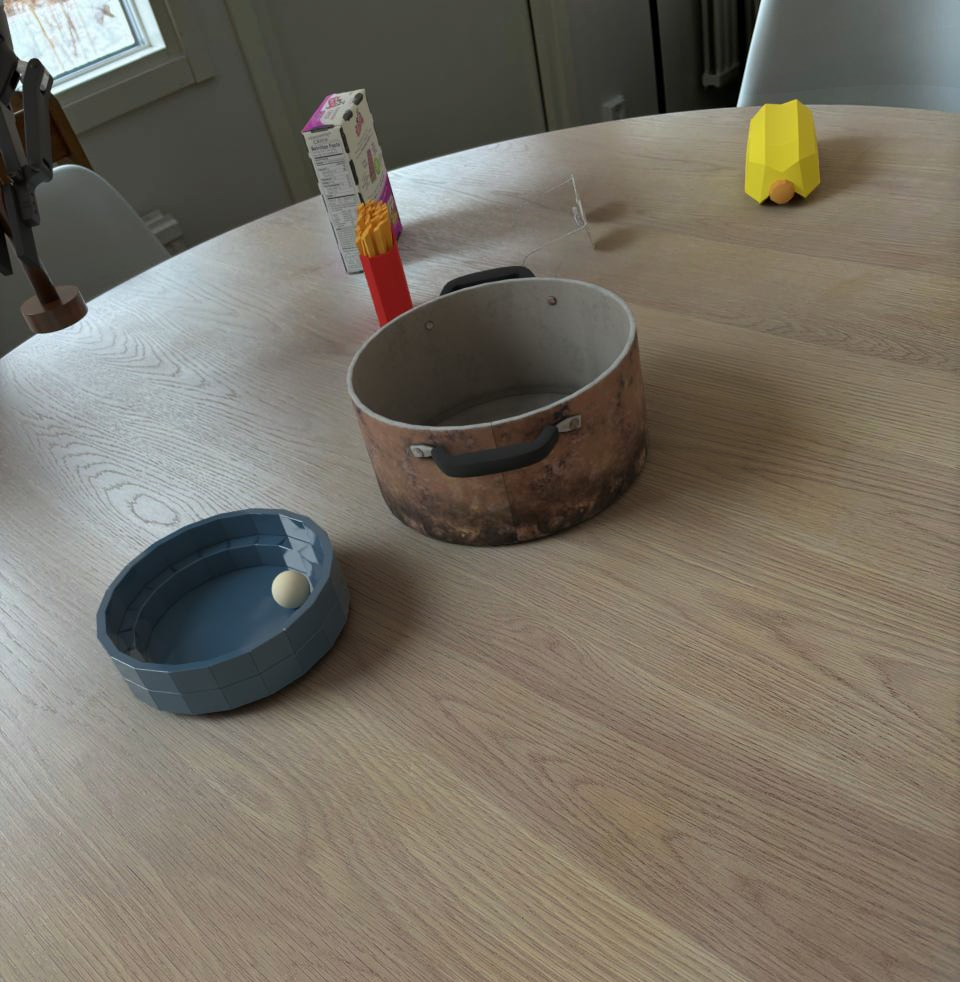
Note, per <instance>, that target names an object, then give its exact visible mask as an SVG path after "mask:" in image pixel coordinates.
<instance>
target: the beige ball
mask: <svg viewBox="0 0 960 982" xmlns="http://www.w3.org/2000/svg"><path fill="white" fill-rule="evenodd" d="M272 595H273V597H274V599H275V601H276V602H277V603H278V604H279V605H281V606H282V607H285V608H289V609H293V608H298V607H300V606H302V605H303V604H304V603H305V602H306V600H307V599H308V597H309V596H310V584H309V581H308V579H307V578H306V577H305V576H304V575H303V574H302V573H300V572H297V571H293V570H289V571H285V572H282V573H280V574H279V575H278V576H277V577H276V578H275V580H274V581H273V584H272Z"/></svg>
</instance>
